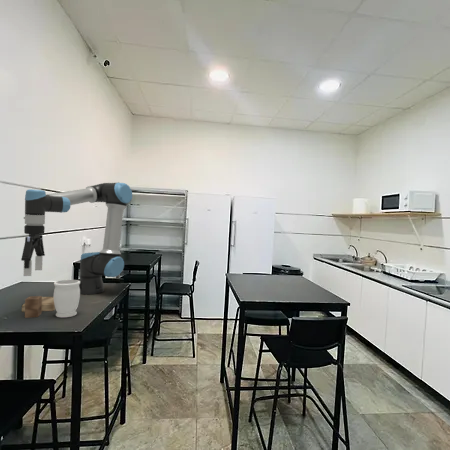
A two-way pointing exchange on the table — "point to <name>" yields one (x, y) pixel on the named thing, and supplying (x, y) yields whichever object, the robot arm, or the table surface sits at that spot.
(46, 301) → the base
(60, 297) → the jar
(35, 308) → the block
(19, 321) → the table surface
